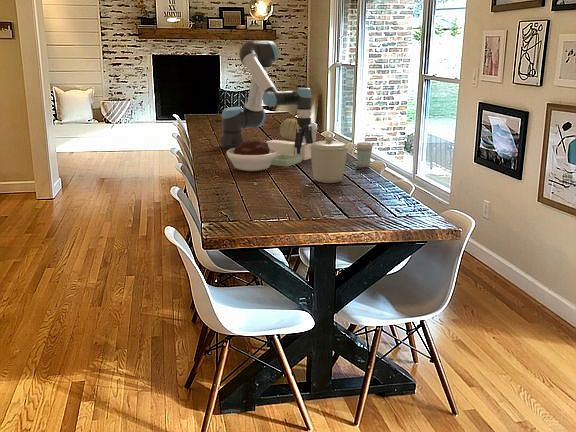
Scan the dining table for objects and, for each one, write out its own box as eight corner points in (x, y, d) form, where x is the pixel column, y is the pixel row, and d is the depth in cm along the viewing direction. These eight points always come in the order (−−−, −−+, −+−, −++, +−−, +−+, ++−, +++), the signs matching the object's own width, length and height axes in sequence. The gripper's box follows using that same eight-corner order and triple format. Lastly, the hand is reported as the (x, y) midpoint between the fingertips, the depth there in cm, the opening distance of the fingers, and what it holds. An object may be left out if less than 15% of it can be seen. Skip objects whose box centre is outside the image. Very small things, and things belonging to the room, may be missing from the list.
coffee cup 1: (315, 152, 364) (316, 126, 360) (299, 151, 366) (300, 125, 362) (318, 149, 373) (318, 124, 369) (302, 148, 375) (303, 123, 371)
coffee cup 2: (373, 165, 326) (374, 142, 323) (369, 168, 319) (370, 145, 315) (357, 164, 329) (358, 141, 326) (353, 167, 321) (354, 144, 318)
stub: (294, 159, 342) (295, 144, 340) (302, 157, 349) (302, 142, 347) (304, 160, 339) (304, 145, 337) (311, 158, 346) (311, 143, 344)
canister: (336, 187, 278) (337, 139, 272) (301, 182, 287) (301, 136, 281) (354, 180, 292) (355, 134, 287) (320, 175, 302) (321, 131, 296)
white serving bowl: (238, 176, 297) (238, 145, 293) (219, 167, 318) (218, 137, 314) (285, 172, 308) (285, 141, 304) (263, 163, 330) (263, 135, 325)
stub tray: (266, 164, 328) (266, 158, 327) (281, 159, 341) (281, 153, 340) (286, 166, 322) (286, 160, 321) (301, 161, 335) (301, 156, 334)
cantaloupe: (276, 142, 398) (276, 118, 394) (284, 139, 412) (285, 116, 407) (297, 143, 393) (298, 119, 389) (306, 140, 406) (306, 117, 402)
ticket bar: (265, 155, 351) (265, 141, 349) (273, 153, 358) (273, 139, 356) (293, 159, 343) (293, 144, 340) (300, 156, 349) (300, 142, 347)
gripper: (300, 119, 327) (300, 161, 333) (319, 115, 345) (318, 155, 351) (287, 118, 331) (287, 160, 337) (307, 114, 349) (307, 154, 355)
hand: (303, 158), depth 344 cm, fingers open, 9 cm apart
